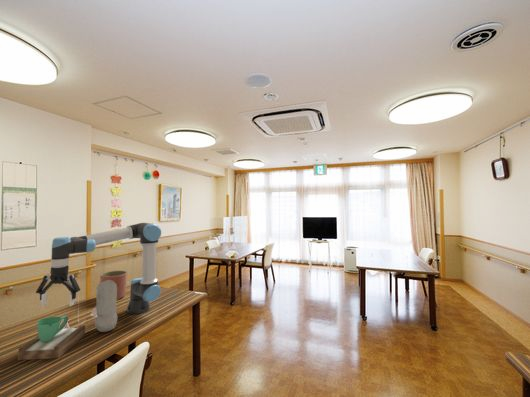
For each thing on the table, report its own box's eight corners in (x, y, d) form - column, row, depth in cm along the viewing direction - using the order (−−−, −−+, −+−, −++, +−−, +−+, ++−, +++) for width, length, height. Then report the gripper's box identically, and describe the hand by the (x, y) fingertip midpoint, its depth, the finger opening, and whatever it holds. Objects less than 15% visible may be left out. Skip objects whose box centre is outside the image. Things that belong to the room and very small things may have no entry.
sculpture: (123, 326, 154) (126, 278, 155) (109, 335, 142) (112, 284, 144) (101, 324, 156) (104, 277, 157) (86, 333, 144) (89, 282, 145)
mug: (43, 346, 122) (47, 326, 123) (28, 342, 124) (32, 322, 125) (71, 333, 137) (74, 315, 138) (57, 329, 139) (60, 312, 139)
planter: (106, 293, 208) (108, 270, 209) (129, 293, 210) (131, 270, 211) (93, 302, 190) (95, 276, 190) (119, 302, 192) (120, 276, 192)
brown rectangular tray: (84, 334, 142) (85, 325, 143) (58, 357, 121) (59, 346, 121) (50, 336, 140) (51, 326, 140) (17, 360, 118) (18, 348, 118)
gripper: (88, 264, 137) (86, 302, 137) (39, 264, 134) (37, 303, 133) (80, 267, 130) (78, 307, 129) (28, 268, 126) (25, 309, 126)
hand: (57, 305), depth 131 cm, fingers open, 13 cm apart
